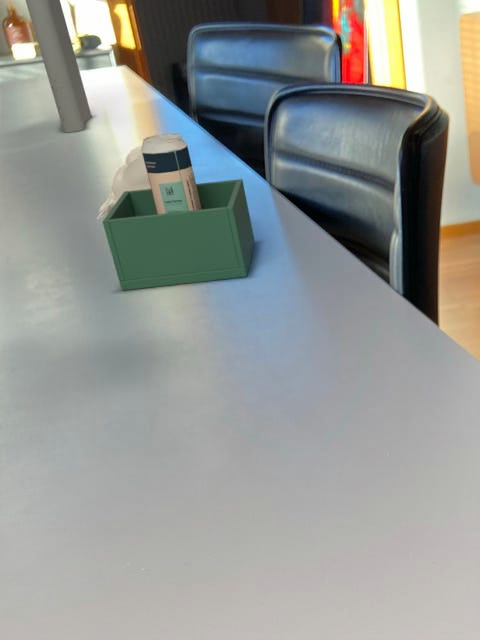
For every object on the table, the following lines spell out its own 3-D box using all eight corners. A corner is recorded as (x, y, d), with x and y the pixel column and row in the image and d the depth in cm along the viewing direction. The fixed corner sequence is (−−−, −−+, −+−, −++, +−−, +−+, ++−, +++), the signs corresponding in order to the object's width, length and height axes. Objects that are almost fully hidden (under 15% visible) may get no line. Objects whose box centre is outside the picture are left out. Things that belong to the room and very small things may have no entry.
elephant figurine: (105, 227, 130) (84, 152, 125) (200, 214, 132) (183, 139, 126) (100, 246, 122) (78, 167, 117) (201, 232, 124) (183, 154, 119)
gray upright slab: (69, 118, 205) (27, -29, 190) (92, 115, 206) (52, -32, 191) (58, 133, 191) (12, -25, 176) (83, 130, 192) (39, -27, 177)
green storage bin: (121, 290, 107) (102, 221, 103) (141, 255, 118) (124, 191, 114) (247, 276, 108) (232, 207, 104) (255, 243, 118) (242, 178, 114)
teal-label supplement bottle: (200, 247, 115) (172, 130, 108) (219, 254, 112) (193, 135, 105) (161, 257, 113) (130, 139, 105) (180, 265, 110) (150, 144, 102)
